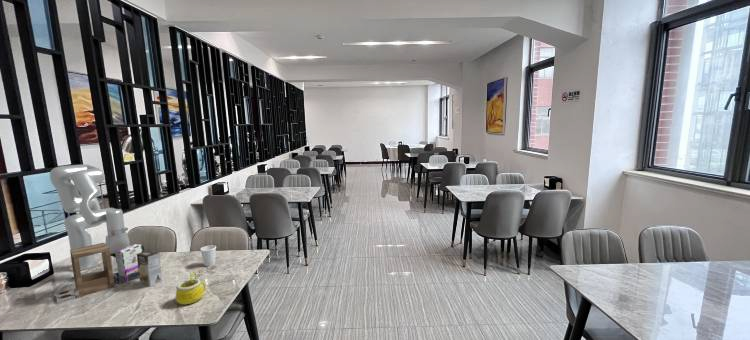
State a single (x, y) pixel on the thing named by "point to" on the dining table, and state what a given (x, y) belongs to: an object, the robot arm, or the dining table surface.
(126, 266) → the candy bar box
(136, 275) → the slider
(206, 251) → the dixie cup
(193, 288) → the yellow potted plant
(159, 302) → the dining table surface
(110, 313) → the dining table surface
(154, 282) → the coffee box
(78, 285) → the tunnel
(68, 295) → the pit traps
